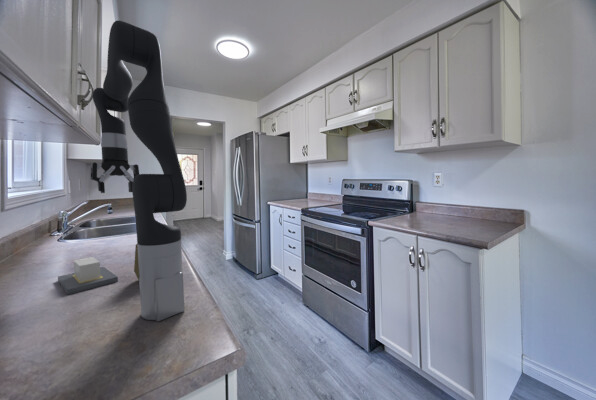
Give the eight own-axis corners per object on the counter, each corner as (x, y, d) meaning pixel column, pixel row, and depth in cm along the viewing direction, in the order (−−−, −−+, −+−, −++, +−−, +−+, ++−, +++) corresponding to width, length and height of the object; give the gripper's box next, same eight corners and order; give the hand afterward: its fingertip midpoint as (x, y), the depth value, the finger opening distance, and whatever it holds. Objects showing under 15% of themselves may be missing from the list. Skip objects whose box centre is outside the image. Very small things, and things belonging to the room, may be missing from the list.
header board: (118, 281, 80) (117, 267, 79) (67, 294, 70) (66, 279, 70) (103, 270, 90) (103, 258, 89) (58, 281, 80) (56, 267, 80)
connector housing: (100, 277, 79) (99, 261, 79) (80, 282, 75) (79, 265, 75) (93, 271, 85) (92, 256, 84) (74, 275, 81) (73, 260, 81)
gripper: (92, 144, 81) (95, 193, 83) (140, 148, 93) (143, 192, 94) (86, 146, 86) (89, 193, 87) (133, 150, 97) (135, 191, 98)
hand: (117, 192), depth 90 cm, fingers open, 8 cm apart
